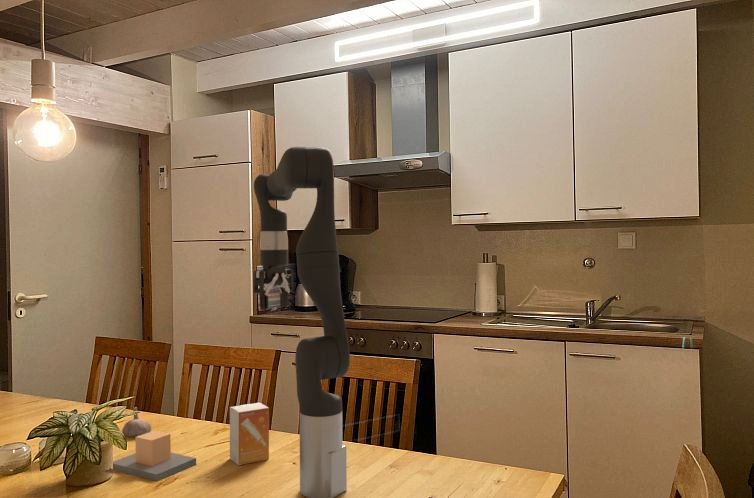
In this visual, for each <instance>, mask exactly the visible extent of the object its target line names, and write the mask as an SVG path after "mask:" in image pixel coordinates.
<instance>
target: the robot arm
mask: <svg viewBox="0 0 754 498" xmlns="http://www.w3.org/2000/svg"><path fill="white" fill-rule="evenodd" d="M253 181H254V182H253V190H254V194H255V195H254V196H255V198H256V201H257V205H258V209H259V212H260V213H259V214H260V237H259V265H260V266H261V267H262V270H254V273H253V293H254V294H257V295H258V296H259V308H260V310H263V311H265V310H269V294H270V291H271V290H272V289H273V287H277V288H278V289H279V291H280V294H279V295H280V296H279V297H280V299H279V300H280V301H279V302H280V303H279V304H280V308H281V307H282V308H288V307H289V301H290V300H289V294H290V292H291V291H294V289H295V286H294V281H295V280H294V269H292V268H286V266H289V238H288V215H287V214H288V213H287V212H286V210H283V209H280V208H275V207H272V205H271V204H270V202H269V201H272V202H274V201H277V202H282V201H283V202H285V201H289V200H291V198H292V196H293V193H294V192H295V191H296V190H297V189H316V202H315V207H314V210H313V213H312V215H311V216H310V219H309V220H308V222H307V224H306V226H305V228H304V229H303V231H302V233H301V234H300V237H299V238H298V241H297V244H296V247H295V248H296V249H295V252H296V253H295V254H296V266H297V268H296V269H297V276H298V280H299V283H300V284H301V286H302V287H303V289H304V290H305V292H306V293H307V295H308V297H309V298H310V300H311V301H312V302H313V304H314V305H315V307H316V309H317V311H318V313H319V315H320V318H321V322H322V329H323V335H322V336H314V337H313V336H312V337H306V338H302V339H301V340H300V341H299V342H298V343H297V346H296V348H295V349H296V350H295V355H294V356H295V360H294V361H295V376H296V377H295V378H296V394H297V395H296V396H297V400H298V407H299V409H298V410H299V493H300V495H302V496H304V497H306V498H336V497H337V496H339V495H340V494H342V493H344V492H345V491H347V489H348V487H347V486H348V485H347V482H348V481H347V478H348V477H347V473H348V471H347V469H348V467H347V465H348V464H347V463H348V462H347V446H346V445H344V444H343V399H342V397H341V396H339V394H334V393H330V392H328V391H327V392H326V391H324V389H323V385H322V381H323V380H331V379H335V378H336V379H337V378H341V377H344V376H345V375H346V374H347V373H348V371H349V368H350V362H351V356H350V355H351V354H350V353H351V352H350V344H349V339H348V332H347V328H346V321H345V314H344V309H343V298H342V289H341V276H340V275H341V273H340V271H341V269H340V257H339V256H340V255H339V248H338V240H337V239H338V238H337V228H336V218H335V217H336V216H335V215H336V214H335V213H336V212H335V166H334V158H333V154H332V152H331V151H330V149H328V148H327V147H324V146H323V147H320V146H291V147H290V148H287V150H285V151H284V153H283V154H282V156H281V158H280V160H279V163H278V164H277V168H276V169H275V170H273V171H272V172H271V173H270V174H268V173H266V174H265V173H262V174H261V173H260V174H258V175H257V176H256V177H255V179H254V180H253Z"/></svg>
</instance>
